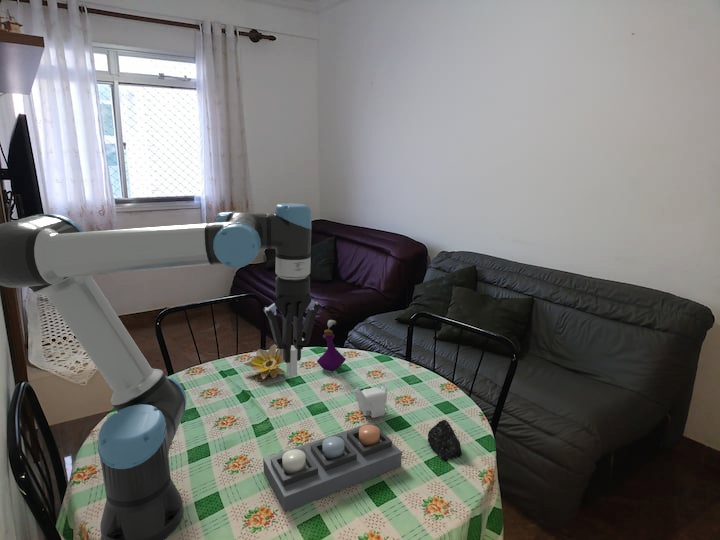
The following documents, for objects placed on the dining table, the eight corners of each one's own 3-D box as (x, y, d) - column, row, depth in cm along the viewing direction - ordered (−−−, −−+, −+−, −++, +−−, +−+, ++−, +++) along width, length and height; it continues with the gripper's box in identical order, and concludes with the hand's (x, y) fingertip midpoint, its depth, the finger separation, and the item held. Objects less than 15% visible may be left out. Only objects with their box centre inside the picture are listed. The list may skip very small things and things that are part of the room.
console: (285, 512, 94) (284, 490, 92) (263, 472, 105) (262, 452, 104) (401, 466, 108) (401, 446, 107) (371, 435, 120) (371, 417, 119)
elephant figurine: (366, 428, 123) (367, 399, 121) (349, 406, 134) (350, 379, 132) (396, 420, 127) (397, 392, 125) (377, 399, 138) (378, 373, 135)
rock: (442, 464, 110) (444, 443, 108) (421, 440, 119) (422, 421, 117) (466, 457, 112) (468, 437, 111) (443, 434, 121) (445, 415, 120)
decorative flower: (237, 365, 155) (242, 338, 153) (264, 362, 163) (270, 337, 161) (258, 384, 144) (264, 355, 143) (287, 381, 152) (293, 354, 151)
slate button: (328, 462, 102) (328, 452, 102) (318, 449, 107) (318, 440, 106) (348, 455, 105) (348, 446, 104) (338, 443, 109) (338, 434, 108)
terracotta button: (365, 448, 107) (365, 439, 106) (354, 437, 111) (355, 428, 111) (383, 442, 110) (383, 433, 109) (372, 431, 114) (372, 422, 113)
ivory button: (287, 477, 97) (287, 467, 97) (279, 463, 102) (278, 453, 101) (309, 469, 100) (309, 459, 99) (300, 456, 104) (300, 446, 104)
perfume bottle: (333, 375, 152) (333, 326, 148) (316, 369, 156) (316, 321, 152) (346, 367, 158) (346, 320, 154) (329, 361, 162) (329, 315, 158)
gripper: (269, 282, 90) (269, 387, 96) (327, 277, 97) (324, 375, 102) (258, 273, 97) (259, 372, 102) (313, 269, 103) (311, 362, 109)
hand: (291, 373), depth 102 cm, fingers closed
